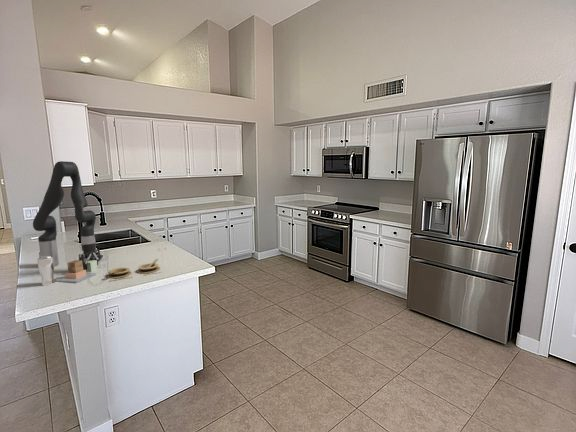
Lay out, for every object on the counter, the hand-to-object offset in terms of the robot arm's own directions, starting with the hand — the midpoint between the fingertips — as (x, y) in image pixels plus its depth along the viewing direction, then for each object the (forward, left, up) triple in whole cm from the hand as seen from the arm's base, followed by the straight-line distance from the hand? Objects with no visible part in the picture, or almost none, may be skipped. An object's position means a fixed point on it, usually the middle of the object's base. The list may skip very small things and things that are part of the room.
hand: (91, 267), depth 196 cm
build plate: (+3, -14, -2) cm, 14 cm away
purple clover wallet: (-13, +16, -3) cm, 20 cm away
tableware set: (+30, +1, -3) cm, 30 cm away
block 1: (+3, -14, +2) cm, 14 cm away
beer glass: (-5, -25, -2) cm, 25 cm away
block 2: (0, 0, -2) cm, 2 cm away
